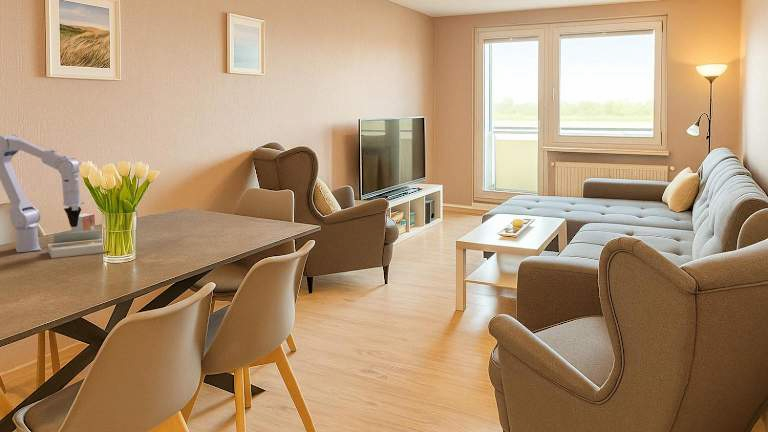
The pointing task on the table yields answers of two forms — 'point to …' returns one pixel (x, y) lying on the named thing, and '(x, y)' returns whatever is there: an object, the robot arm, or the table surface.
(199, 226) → the table surface
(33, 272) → the table surface
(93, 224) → the small box
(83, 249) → the white sliding drawer case
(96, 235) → the cover
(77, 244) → the yellow rounded bar
